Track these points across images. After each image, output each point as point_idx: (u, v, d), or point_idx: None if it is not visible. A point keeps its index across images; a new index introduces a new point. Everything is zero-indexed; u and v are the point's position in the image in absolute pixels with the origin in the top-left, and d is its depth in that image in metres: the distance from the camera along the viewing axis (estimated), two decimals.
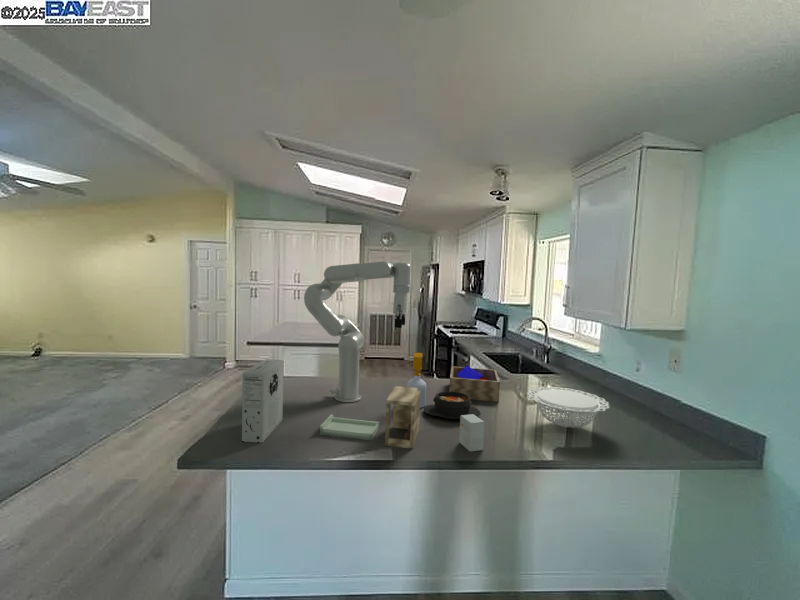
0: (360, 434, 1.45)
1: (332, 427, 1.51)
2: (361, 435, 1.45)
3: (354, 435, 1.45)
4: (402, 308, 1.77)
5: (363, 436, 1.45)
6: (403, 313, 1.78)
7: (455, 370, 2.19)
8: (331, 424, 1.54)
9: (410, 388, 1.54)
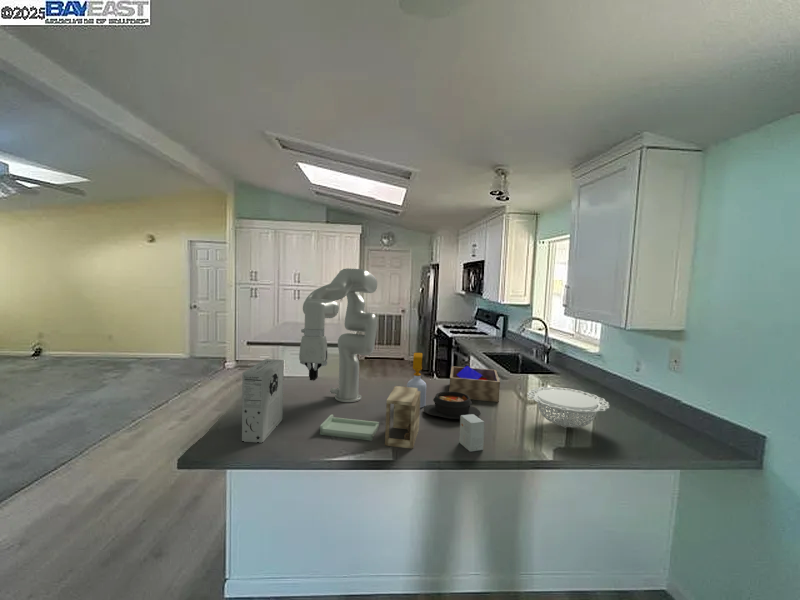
0: (360, 434, 1.45)
1: (332, 427, 1.51)
2: (361, 435, 1.45)
3: (354, 435, 1.45)
4: (327, 354, 1.53)
5: (363, 436, 1.45)
6: None
7: (455, 370, 2.19)
8: (331, 424, 1.54)
9: (410, 388, 1.54)
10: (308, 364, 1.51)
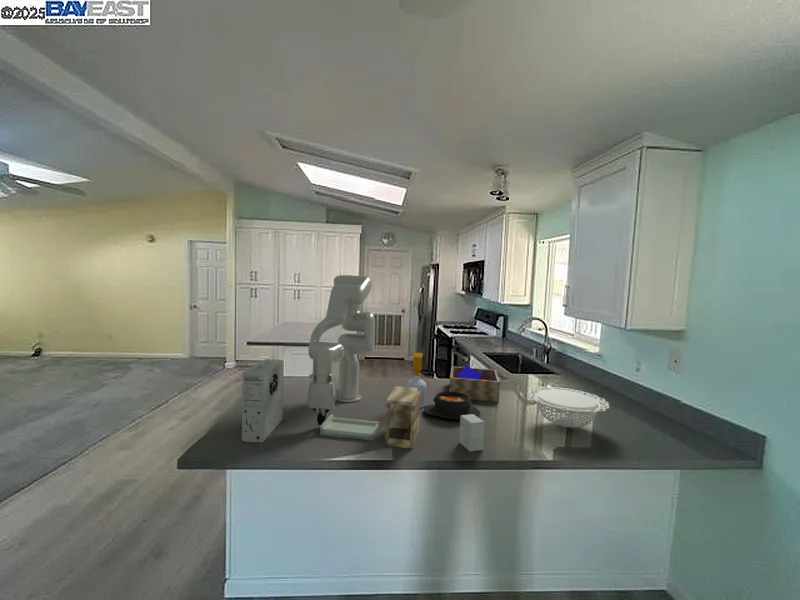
0: (360, 434, 1.45)
1: (332, 427, 1.51)
2: (361, 435, 1.45)
3: (354, 435, 1.45)
4: (335, 398, 1.53)
5: (363, 436, 1.44)
6: None
7: (455, 370, 2.19)
8: (331, 424, 1.54)
9: (410, 388, 1.54)
10: (316, 409, 1.52)
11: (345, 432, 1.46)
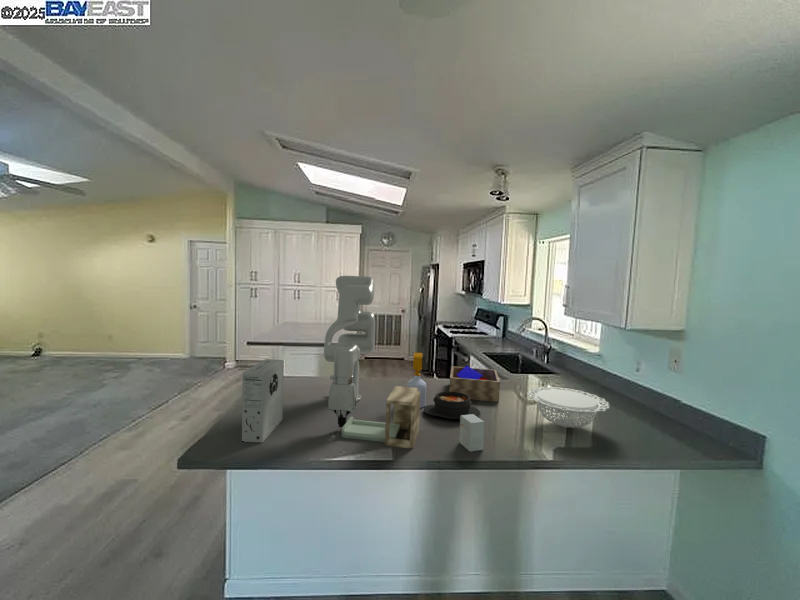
0: (382, 437, 1.43)
1: (353, 430, 1.50)
2: (384, 438, 1.43)
3: (376, 438, 1.43)
4: None
5: None
6: None
7: (455, 370, 2.19)
8: (352, 426, 1.53)
9: (410, 388, 1.54)
10: (337, 411, 1.50)
11: (367, 435, 1.44)
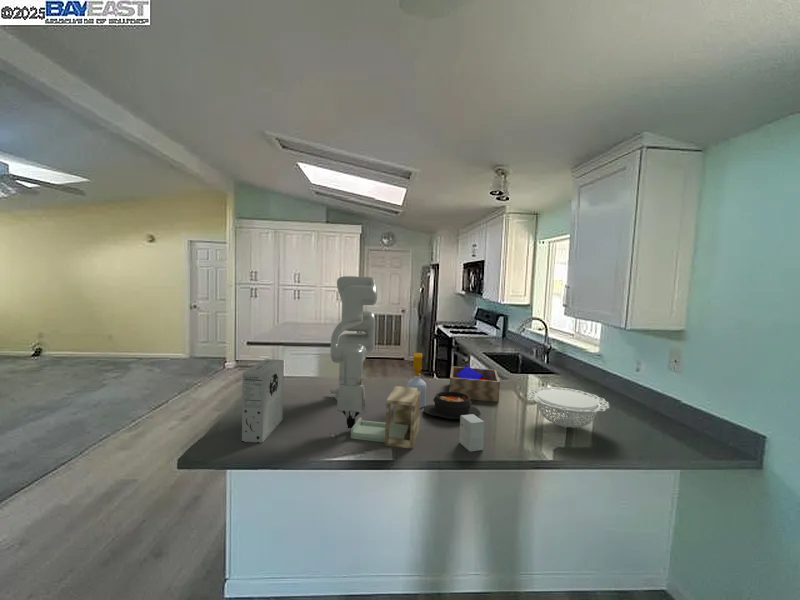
0: None
1: (362, 430, 1.49)
2: None
3: None
4: None
5: None
6: None
7: (455, 370, 2.19)
8: (360, 427, 1.52)
9: (410, 388, 1.54)
10: (346, 412, 1.50)
11: (376, 436, 1.43)
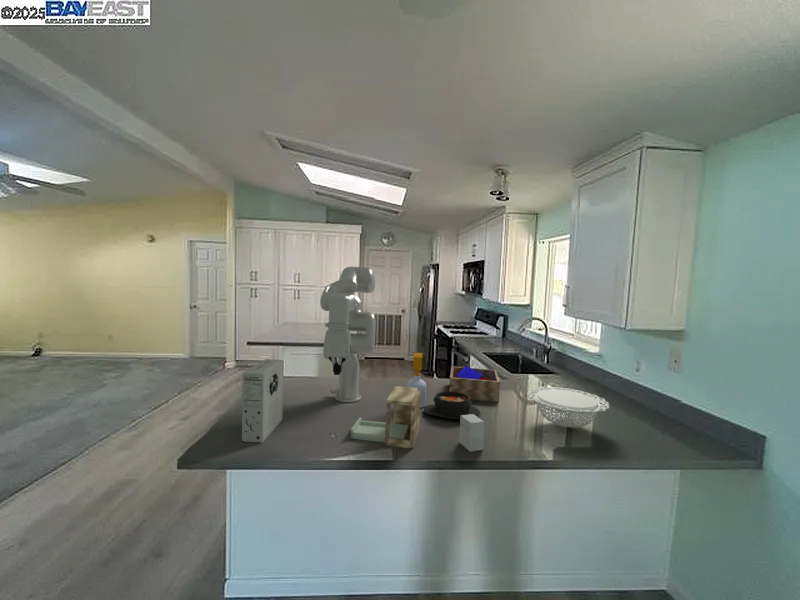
0: None
1: (362, 430, 1.49)
2: None
3: None
4: None
5: None
6: None
7: (455, 370, 2.19)
8: (360, 427, 1.52)
9: (410, 388, 1.54)
10: (332, 358, 1.50)
11: (376, 436, 1.43)
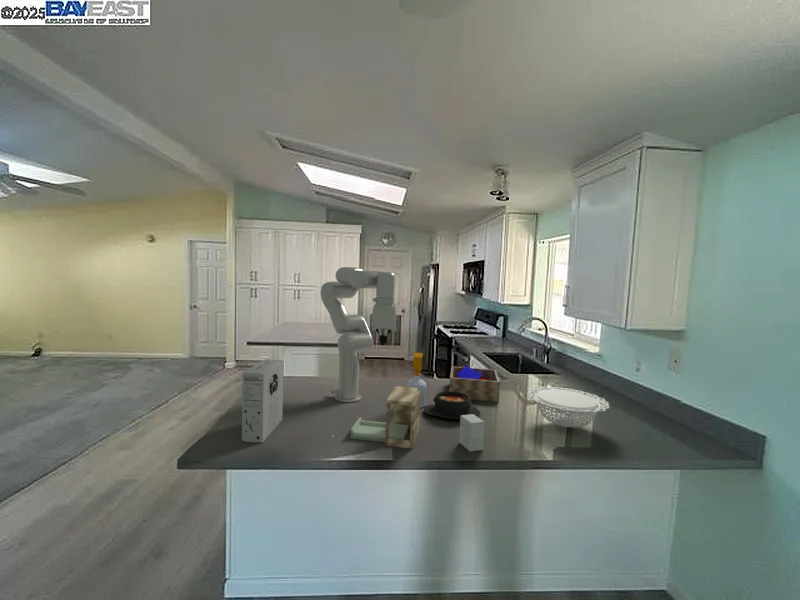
0: None
1: (362, 430, 1.49)
2: None
3: None
4: None
5: None
6: None
7: (455, 370, 2.19)
8: (360, 427, 1.52)
9: (410, 388, 1.54)
10: (379, 330, 1.65)
11: (376, 436, 1.43)
